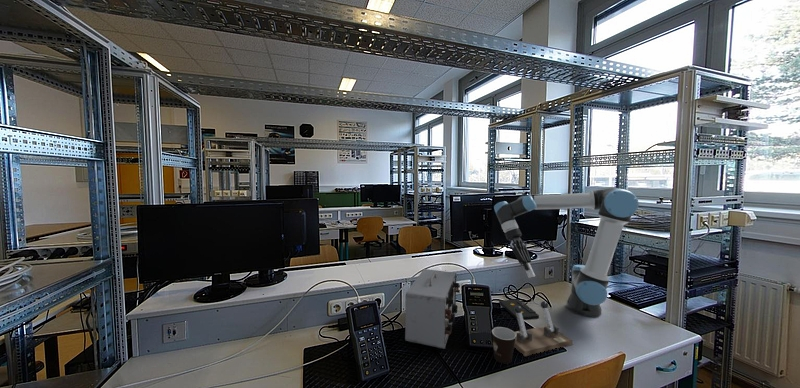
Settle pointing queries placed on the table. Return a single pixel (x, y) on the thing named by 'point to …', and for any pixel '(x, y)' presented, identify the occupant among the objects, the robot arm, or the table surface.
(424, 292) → the vintage electronic device
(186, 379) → the table surface
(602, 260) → the robot arm
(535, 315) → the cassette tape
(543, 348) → the switch base
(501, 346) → the coffee mug
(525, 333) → the lever
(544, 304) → the lever
